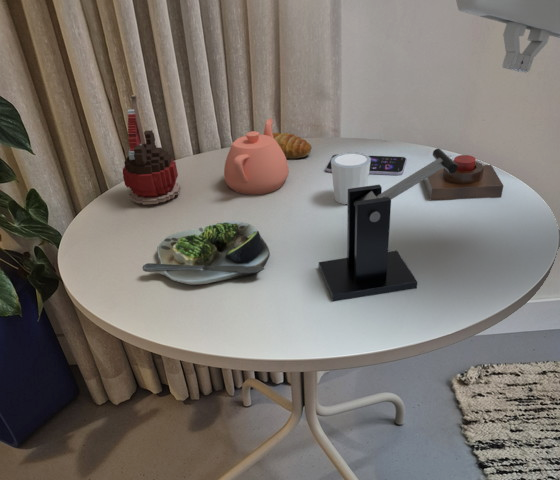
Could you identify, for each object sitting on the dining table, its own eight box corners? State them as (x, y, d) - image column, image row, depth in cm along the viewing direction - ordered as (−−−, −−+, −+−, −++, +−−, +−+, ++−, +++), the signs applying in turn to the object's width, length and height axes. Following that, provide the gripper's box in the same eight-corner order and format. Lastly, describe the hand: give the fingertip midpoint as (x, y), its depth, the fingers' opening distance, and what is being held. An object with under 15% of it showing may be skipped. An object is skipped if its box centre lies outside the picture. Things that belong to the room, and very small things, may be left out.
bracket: (396, 257, 87) (402, 174, 78) (416, 289, 80) (425, 202, 71) (318, 268, 86) (316, 186, 77) (332, 302, 79) (331, 215, 71)
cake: (175, 207, 105) (154, 103, 93) (125, 210, 106) (98, 107, 94) (184, 183, 113) (166, 84, 101) (138, 186, 114) (114, 88, 102)
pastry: (317, 150, 121) (317, 132, 118) (302, 163, 117) (301, 144, 114) (279, 145, 125) (277, 127, 122) (263, 157, 121) (261, 138, 118)
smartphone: (332, 153, 117) (407, 156, 113) (332, 156, 117) (407, 159, 114) (324, 169, 112) (402, 172, 108) (324, 172, 112) (402, 175, 108)
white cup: (377, 195, 103) (379, 156, 98) (353, 210, 99) (354, 170, 95) (347, 186, 107) (347, 148, 102) (323, 200, 103) (322, 161, 98)
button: (471, 164, 102) (473, 154, 100) (476, 172, 99) (477, 162, 98) (451, 165, 102) (452, 155, 101) (454, 173, 99) (456, 163, 98)
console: (489, 176, 106) (493, 154, 103) (501, 197, 99) (505, 175, 96) (423, 179, 107) (425, 158, 104) (430, 201, 100) (432, 178, 97)
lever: (444, 158, 76) (438, 142, 74) (460, 174, 72) (454, 158, 70) (357, 210, 79) (349, 197, 77) (368, 229, 75) (361, 214, 73)
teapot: (211, 198, 107) (203, 147, 101) (248, 161, 119) (243, 113, 113) (271, 204, 103) (267, 151, 97) (303, 165, 116) (301, 116, 109)
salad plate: (152, 306, 81) (144, 278, 78) (137, 248, 94) (130, 223, 91) (282, 276, 85) (280, 249, 82) (250, 225, 98) (247, 199, 95)
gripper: (502, -97, 59) (460, 54, 65) (644, -46, 66) (594, 86, 72) (467, -86, 64) (431, 53, 71) (602, -40, 71) (559, 83, 78)
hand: (515, 70), depth 72 cm, fingers closed
